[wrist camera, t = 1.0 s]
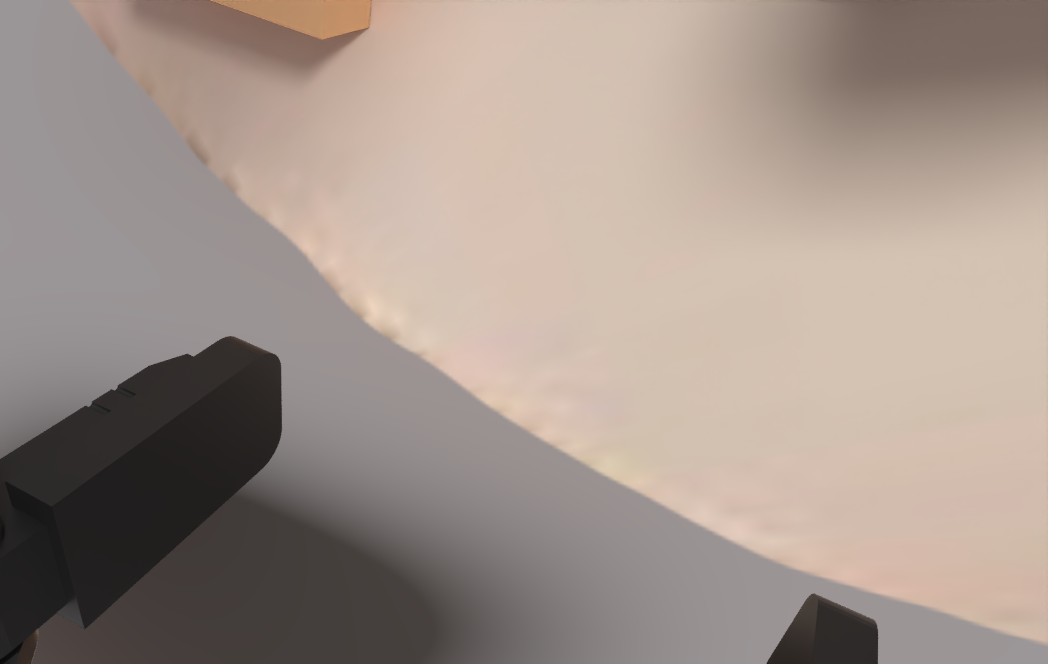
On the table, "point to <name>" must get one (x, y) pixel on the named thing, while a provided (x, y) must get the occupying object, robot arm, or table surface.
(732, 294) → the table surface
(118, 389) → the robot arm
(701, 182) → the table surface
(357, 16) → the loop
